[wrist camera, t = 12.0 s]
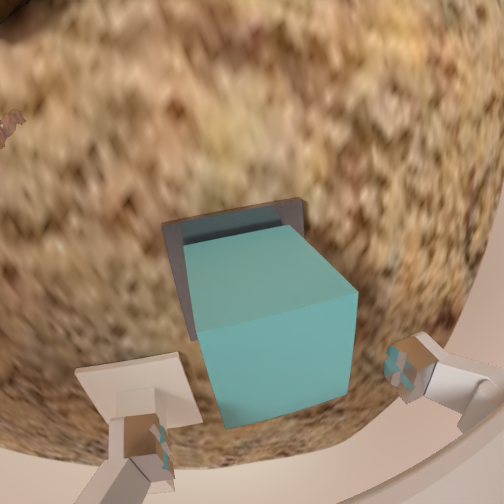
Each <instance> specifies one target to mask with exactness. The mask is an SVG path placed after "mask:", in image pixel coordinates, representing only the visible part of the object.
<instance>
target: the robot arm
mask: <svg viewBox="0 0 504 504" xmlns="http://www.w3.org/2000/svg"><path fill="white" fill-rule="evenodd" d="M386 353H387V355H388V358H387V359H386V360H385V362H384V367H383V370H384V375H385V377H386V379H387V381H388V382H389V383H390V385H393V386H396V387H397V393H398V395H399V396H400V397H401V398H402V400H403V401H404V402H405V403H406V404H408V403H410V402H412V401H414V400H416V399H418V398H420V397H422V396H424V397H426V398H428V399H430V400H433V401H435V402H437V403H439V404H441V405H443V406H445V407H448V408H450V409H452V410H454V411H456V412H458V413H461V414H463V415H462V417H461V419H460V421H459V422H458V425H457V427H458V428H459V429H460V431H461V432H462V433H463V435H461V436H460V437H458V438H457V439H455V440H454V441H453V442H451V443H450V444H448V445H447V446H445V447H444V448H442V449H441V450H439V451H438V452H436V453H434V454H433V455H432V456H430V457H428V458H426V459H425V460H423V461H422V462H420V463H418V464H417V465H415V466H413V467H411V468H409V469H408V470H406V471H404V472H402V473H401V474H399V475H397V476H395V477H393V478H391V479H389V480H387V481H385V482H383V483H381V484H379V485H377V486H375V487H373V488H371V489H369V490H367V491H365V492H362V493H360V494H358V495H356V496H353V497H351V498H349V499H347V500H344V501H342V502H339V503H337V504H504V370H503V369H502V368H500V367H497V366H493V365H489V364H486V363H483V362H479V361H475V360H472V359H468V358H465V357H462V356H458V355H455V354H451V355H449V354H448V353H447V352H446V351H445V350H444V349H443V348H442V347H440V346H439V345H438V344H437V343H436V342H435V341H434V340H433V339H432V338H431V337H430V336H429V335H428V334H427V333H425V332H423V331H421V332H419V333H416V334H414V335H412V336H409V337H407V338H405V339H402V340H400V341H398V342H396V343H393V344H391V345H390V346H389V347H388V348H387V352H386ZM170 452H171V448H170V443H169V439H168V435H167V433H166V430H165V429H164V427H163V426H161V425H160V422H159V418H158V416H157V414H156V413H151V414H144V415H135V416H127V417H118V418H111V420H110V423H109V454H108V460H104V461H103V463H102V464H101V466H100V467H99V469H98V470H97V472H96V473H95V474H94V476H93V477H92V478H91V480H90V481H89V483H88V484H87V486H86V487H85V488H84V490H83V491H82V493H81V495H80V496H79V497H78V499H77V500H76V501H75V503H74V504H142V502H143V500H144V498H145V496H146V494H147V492H148V490H149V488H150V485H151V483H152V482H159V481H166V480H172V479H175V476H174V469H173V462H172V461H171V459H170V458H169V454H170Z"/></svg>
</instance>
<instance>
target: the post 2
mask: <svg viewBox="0 0 504 504" xmlns="http://www.w3.org/2000/svg"><path fill="white" fill-rule="evenodd" d="M285 225H290V226H291V227H292V228H293V229H294V230H295V231H296V232H298V233H299V234H300V235H301V236H302V237H303V238H304V220H303V203H302V199H300V198H299V197H297V198H291V199H285V200H279V201H274V202H268V203H262V204H257V205H251V206H246V207H240V208H235V209H229V210H224V211H219V212H214V213H208V214H203V215H198V216H193V217H188V218H183V219H179V220H174V221H169V222H164V223H162V231H163V235H164V240H165V244H166V248H167V252H168V257H169V261H170V265H171V269H172V273H173V277H174V281H175V285H176V288H177V292H178V296H179V300H180V304H181V307H182V311H183V314H184V318H185V322H186V325H187V329H188V332H189V336H190V339H191V341H194V340H198V337H197V334H196V328H195V322H194V316H193V310H192V303H191V297H190V290H189V284H188V277H187V270H186V263H185V255H184V248H183V246H185V245H190V244H194V243H199V242H204V241H209V240H214V239H219V238H224V237H229V236H234V235H239V234H244V233H249V232H254V231H259V230H264V229H269V228H274V227H280V226H285Z"/></svg>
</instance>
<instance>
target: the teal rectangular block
mask: <svg viewBox="0 0 504 504" xmlns="http://www.w3.org/2000/svg"><path fill="white" fill-rule="evenodd" d="M183 248H184V255H185V263H186V270H187V277H188V284H189V290H190V297H191V303H192V310H193V316H194V322H195V328H196V334H197V337H198V341H199V344H200V348H201V351H202V355H203V358H204V362H205V365H206V369H207V372H208V375H209V379H210V382H211V385H212V389H213V392H214V395H215V398H216V401H217V405H218V408H219V411H220V414H221V417H222V420H223V423H224V426H225V429H226V430H227V429H232V428H236V427H240V426H244V425H248V424H252V423H256V422H260V421H264V420H268V419H271V418H275V417H278V416H282V415H285V414H289V413H292V412H295V411H299V410H302V409H305V408H308V407H311V406H314V405H317V404H320V403H323V402H326V401H329V400H332V399H335V398H337V397H340V396H343V395H346V394H347V392H348V385H349V378H350V371H351V363H352V355H353V346H354V337H355V327H356V316H357V304H358V291H357V290H356V289H355V288H354V287H353V286H352V285H351V284H350V283H349V282H348V281H347V280H346V279H345V278H344V277H343V276H342V275H341V274H340V273H339V272H338V271H337V270H336V269H335V268H334V267H333V266H332V265H331V264H330V263H329V262H328V261H327V260H326V259H325V258H324V257H323V256H321V255H320V254H319V253H318V252H317V251H316V250H315V249H314V248H313V247H312V246H311V245H310V244H309V243H308V242H307V241H306V240H305V239H304V238H303V237H302V236H301V235H300V234H299V233H298V232H296V231H295V230H294V229H293V228H292V227H291V226H290V225H285V226H280V227H274V228H269V229H264V230H259V231H254V232H249V233H244V234H239V235H234V236H229V237H224V238H219V239H214V240H209V241H204V242H199V243H194V244H190V245H185V246H183Z"/></svg>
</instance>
